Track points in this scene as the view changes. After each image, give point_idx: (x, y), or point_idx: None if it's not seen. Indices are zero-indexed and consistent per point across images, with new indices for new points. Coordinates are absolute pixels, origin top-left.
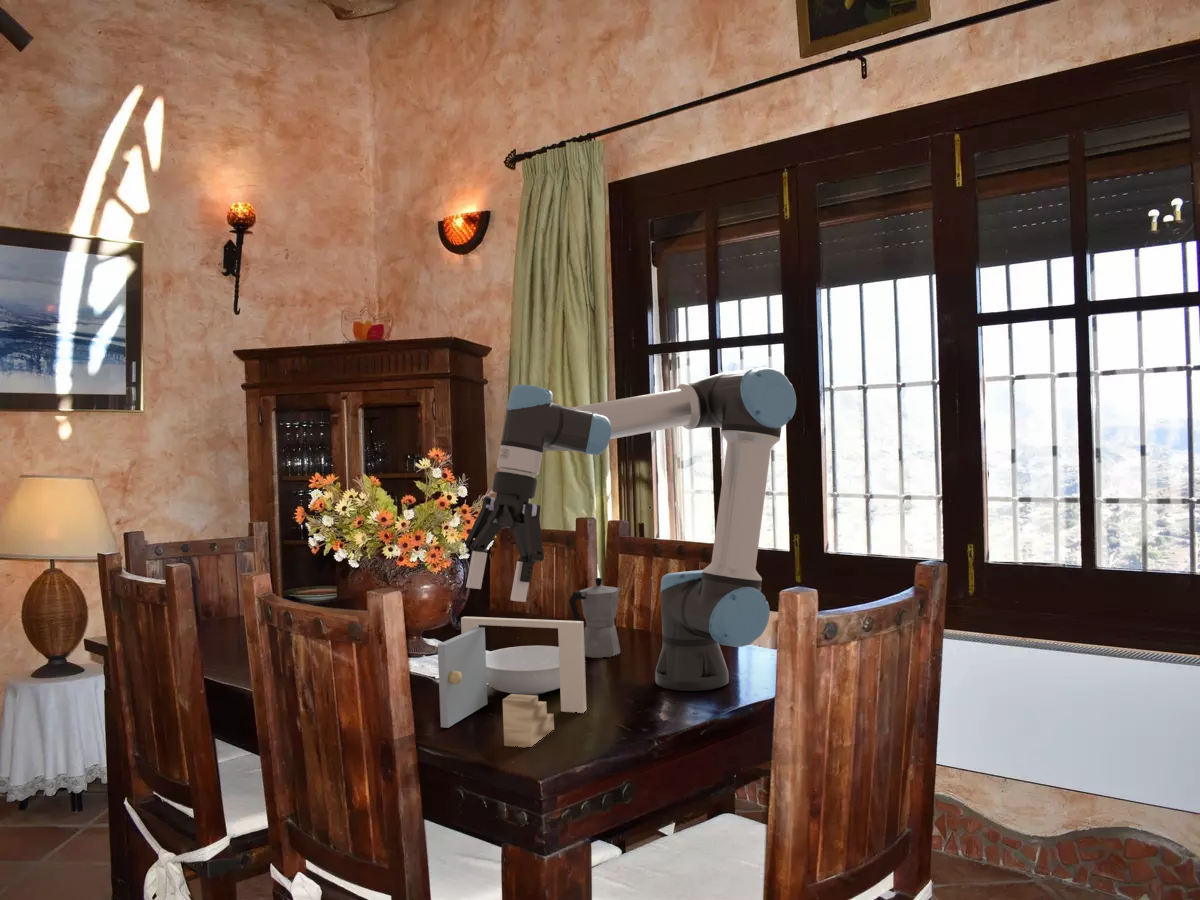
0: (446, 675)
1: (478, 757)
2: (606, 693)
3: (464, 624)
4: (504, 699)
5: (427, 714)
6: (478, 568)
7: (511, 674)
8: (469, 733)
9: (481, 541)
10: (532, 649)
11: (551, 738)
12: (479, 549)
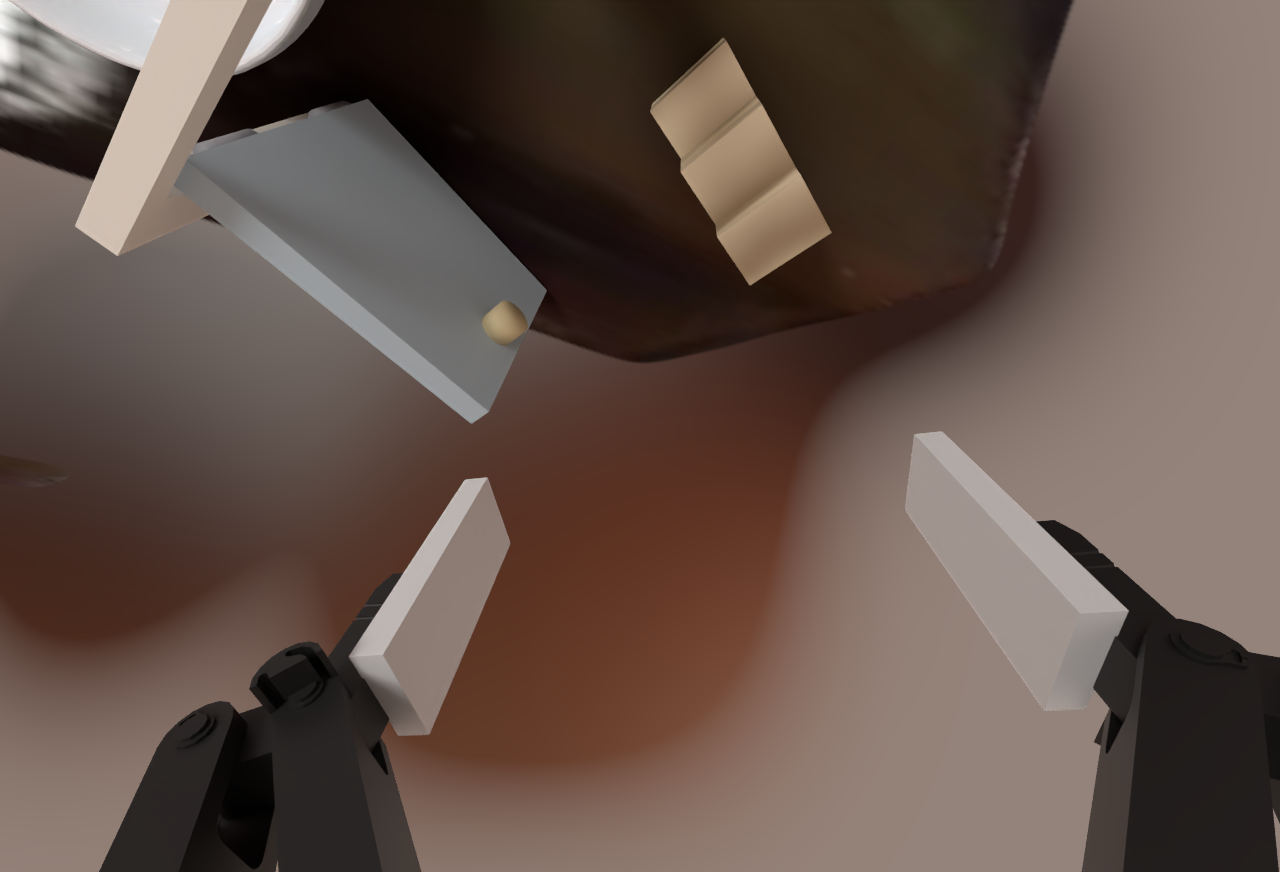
0: (513, 355)
1: (766, 316)
2: None
3: (147, 234)
4: (755, 281)
5: None
6: (457, 592)
7: (316, 3)
8: (602, 261)
9: (399, 817)
10: None
11: (784, 95)
12: (364, 716)
